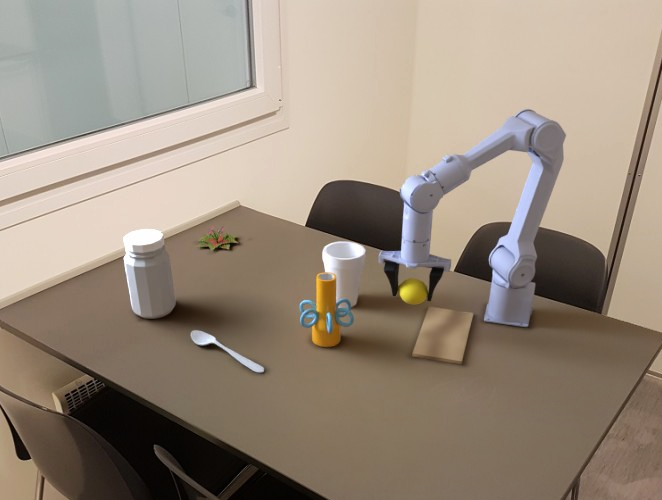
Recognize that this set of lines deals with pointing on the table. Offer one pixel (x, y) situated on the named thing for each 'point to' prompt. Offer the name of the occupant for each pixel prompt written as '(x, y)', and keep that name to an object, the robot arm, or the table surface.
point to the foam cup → (345, 269)
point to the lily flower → (217, 240)
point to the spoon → (205, 339)
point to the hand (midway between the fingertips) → (412, 296)
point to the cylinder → (326, 312)
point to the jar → (149, 274)
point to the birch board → (443, 335)
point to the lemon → (413, 291)
